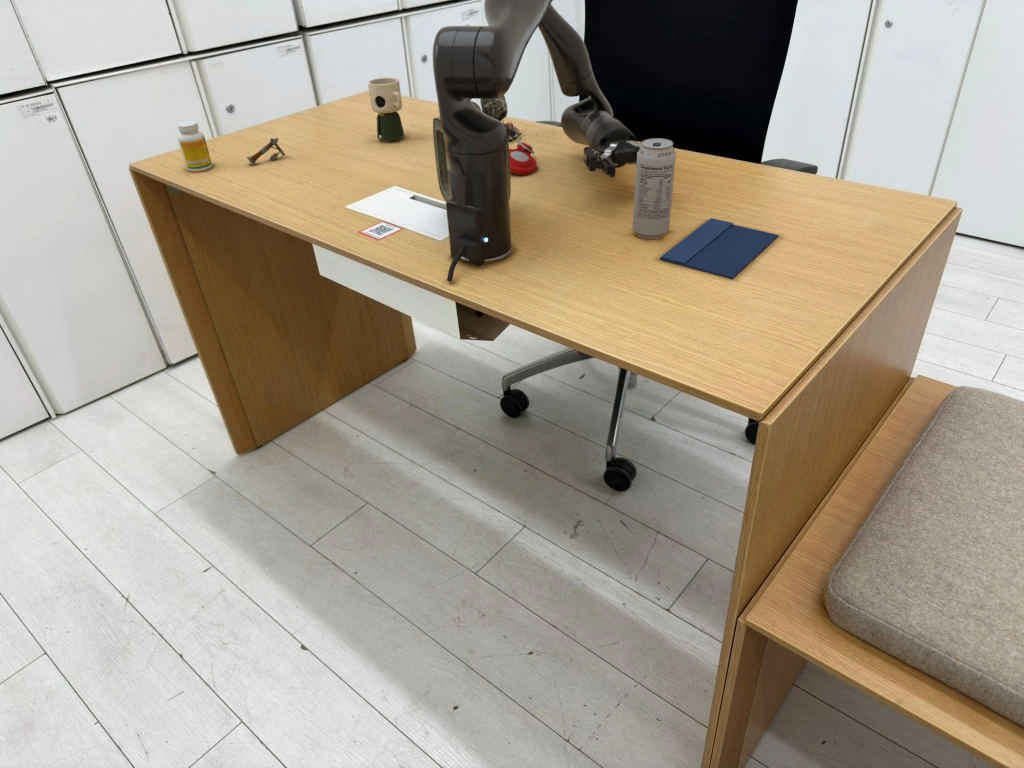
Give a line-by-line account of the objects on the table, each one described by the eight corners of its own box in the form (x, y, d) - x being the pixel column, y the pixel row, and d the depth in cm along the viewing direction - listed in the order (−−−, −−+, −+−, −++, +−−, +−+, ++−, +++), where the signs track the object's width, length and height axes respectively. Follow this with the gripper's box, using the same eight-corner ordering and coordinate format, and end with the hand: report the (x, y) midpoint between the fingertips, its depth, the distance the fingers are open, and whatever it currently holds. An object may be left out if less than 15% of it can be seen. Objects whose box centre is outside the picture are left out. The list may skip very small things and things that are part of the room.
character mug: (365, 138, 169) (356, 80, 162) (388, 131, 173) (380, 74, 166) (394, 147, 163) (385, 87, 155) (417, 139, 167) (410, 80, 159)
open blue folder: (732, 279, 105) (733, 275, 104) (659, 259, 111) (659, 256, 111) (778, 236, 116) (778, 233, 116) (709, 220, 122) (710, 217, 122)
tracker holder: (542, 169, 143) (494, 161, 141) (536, 188, 147) (489, 180, 144) (535, 138, 151) (489, 130, 149) (530, 156, 155) (485, 149, 152)
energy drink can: (670, 227, 121) (678, 137, 112) (666, 242, 116) (675, 149, 107) (634, 224, 122) (640, 136, 113) (629, 239, 117) (635, 148, 109)
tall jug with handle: (440, 212, 130) (426, 65, 116) (487, 203, 133) (478, 59, 118) (464, 242, 119) (451, 84, 105) (514, 232, 122) (509, 77, 107)
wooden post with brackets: (289, 152, 159) (277, 135, 156) (261, 174, 158) (248, 158, 155) (286, 151, 161) (274, 134, 157) (258, 172, 159) (245, 156, 156)
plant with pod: (471, 141, 164) (464, 47, 153) (503, 128, 171) (498, 38, 160) (498, 147, 160) (493, 50, 148) (529, 134, 167) (527, 41, 155)
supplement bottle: (183, 168, 157) (169, 123, 151) (207, 162, 159) (195, 118, 154) (192, 174, 153) (178, 128, 148) (216, 168, 156) (203, 123, 150)
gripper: (573, 124, 131) (598, 151, 118) (647, 117, 132) (680, 142, 119) (573, 164, 135) (596, 194, 122) (644, 157, 137) (675, 186, 124)
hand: (637, 169), depth 121 cm, fingers open, 8 cm apart
